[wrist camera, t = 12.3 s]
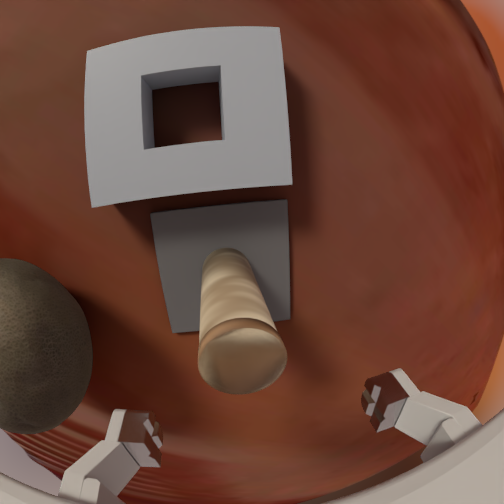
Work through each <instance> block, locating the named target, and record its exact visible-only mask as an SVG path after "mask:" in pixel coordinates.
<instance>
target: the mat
mask: <svg viewBox="0 0 504 504" xmlns="http://www.w3.org/2000/svg"><path fill="white" fill-rule="evenodd" d="M150 216H151V223H152V230H153V236H154V243H155V249H156V255H157V261H158V266H159V272H160V277H161V282H162V287H163V292H164V297H165V302H166V307H167V311H168V316H169V320H170V324H171V328H172V333H179V332H190V331H200V307H201V285H202V267H203V264H204V261H205V259H206V258H207V256H208V255H209V254H211V253H212V252H213V251H215V250H217V249H220V248H233V249H236V250H238V251H240V252H241V253H243V254H244V255H245V257H246V258H247V259H248V262H249V264H250V266H251V269H252V271H253V274H254V276H255V279H256V281H257V284H258V286H259V288H260V291H261V293H262V296H263V298H264V301H265V303H266V305H267V308H268V310H269V313H270V315H271V318H272V320H273V322H274V321H281V320H288V319H290V264H289V229H288V204H287V200H286V199H279V200H266V201H254V202H242V203H231V204H221V205H211V206H202V207H192V208H184V209H175V210H167V211H159V212H152V213H151V214H150Z"/></svg>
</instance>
